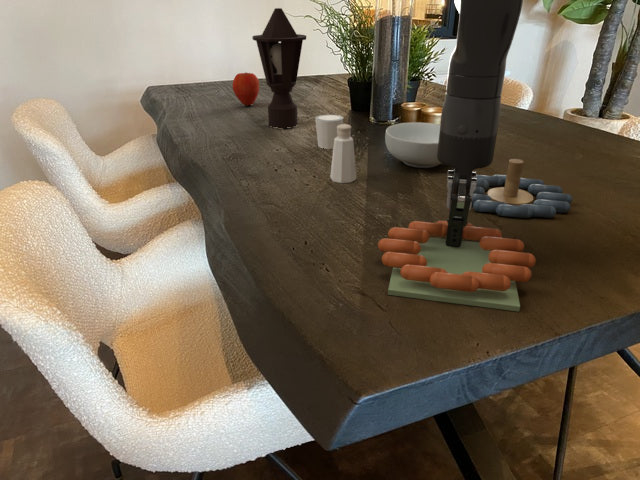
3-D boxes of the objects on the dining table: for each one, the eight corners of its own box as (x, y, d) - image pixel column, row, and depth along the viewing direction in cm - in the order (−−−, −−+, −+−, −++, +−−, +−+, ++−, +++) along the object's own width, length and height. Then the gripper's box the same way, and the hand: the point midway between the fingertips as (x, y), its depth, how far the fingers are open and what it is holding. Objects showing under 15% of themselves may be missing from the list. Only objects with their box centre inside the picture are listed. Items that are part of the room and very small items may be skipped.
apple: (232, 109, 157) (229, 74, 152) (237, 103, 164) (234, 69, 159) (258, 109, 156) (256, 74, 151) (262, 103, 164) (260, 69, 159)
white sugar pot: (331, 140, 125) (331, 112, 122) (348, 146, 120) (349, 117, 117) (309, 144, 121) (309, 116, 118) (326, 151, 116) (326, 122, 113)
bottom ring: (562, 187, 95) (564, 178, 94) (581, 225, 80) (584, 214, 79) (451, 179, 100) (452, 169, 99) (450, 213, 85) (451, 202, 84)
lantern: (303, 133, 131) (300, 9, 117) (250, 131, 133) (241, 9, 119) (313, 120, 143) (312, 7, 129) (265, 118, 146) (258, 7, 132)
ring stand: (529, 193, 92) (537, 155, 89) (535, 210, 86) (544, 170, 82) (485, 190, 94) (491, 152, 91) (487, 206, 87) (494, 166, 84)
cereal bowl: (439, 181, 98) (443, 147, 95) (369, 165, 107) (370, 133, 104) (472, 159, 110) (476, 128, 107) (406, 146, 119) (408, 117, 116)
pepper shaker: (327, 182, 98) (328, 128, 93) (332, 173, 103) (332, 121, 98) (354, 184, 97) (356, 129, 92) (357, 175, 102) (359, 122, 97)
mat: (507, 250, 73) (508, 245, 73) (519, 311, 59) (520, 306, 59) (400, 238, 77) (400, 234, 76) (387, 294, 63) (388, 289, 62)
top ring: (525, 238, 73) (528, 226, 72) (544, 304, 58) (547, 290, 57) (384, 224, 77) (385, 213, 76) (368, 282, 62) (369, 269, 61)
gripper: (501, 144, 59) (480, 267, 67) (494, 117, 71) (477, 224, 79) (438, 140, 61) (425, 260, 69) (441, 114, 73) (429, 219, 81)
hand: (453, 240), depth 74 cm, fingers closed on top ring, 2 cm apart
